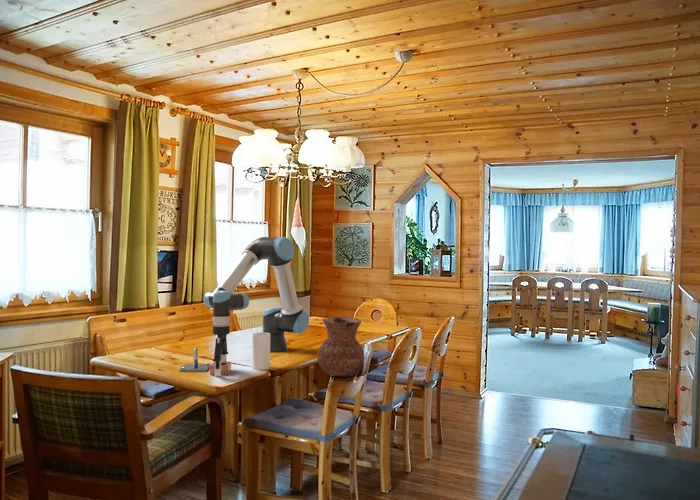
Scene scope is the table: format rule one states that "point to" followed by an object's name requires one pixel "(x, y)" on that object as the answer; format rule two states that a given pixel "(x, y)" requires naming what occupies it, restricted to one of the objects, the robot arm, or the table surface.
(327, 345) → the brown clay vase
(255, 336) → the cup
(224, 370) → the link
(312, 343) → the table surface
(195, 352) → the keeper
